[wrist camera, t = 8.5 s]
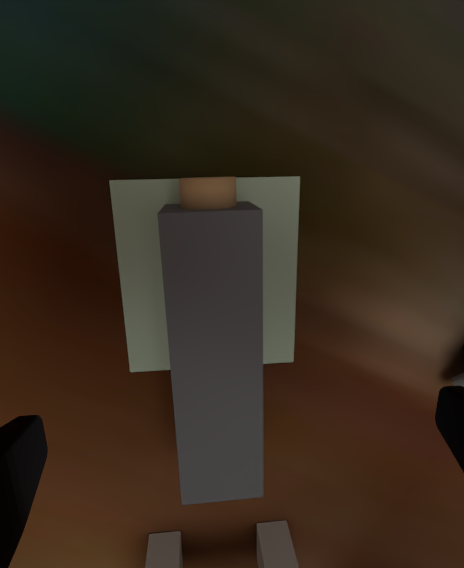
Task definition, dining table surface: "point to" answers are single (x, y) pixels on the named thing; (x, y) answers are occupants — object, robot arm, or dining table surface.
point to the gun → (458, 379)
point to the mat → (148, 268)
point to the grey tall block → (215, 338)
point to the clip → (270, 548)
